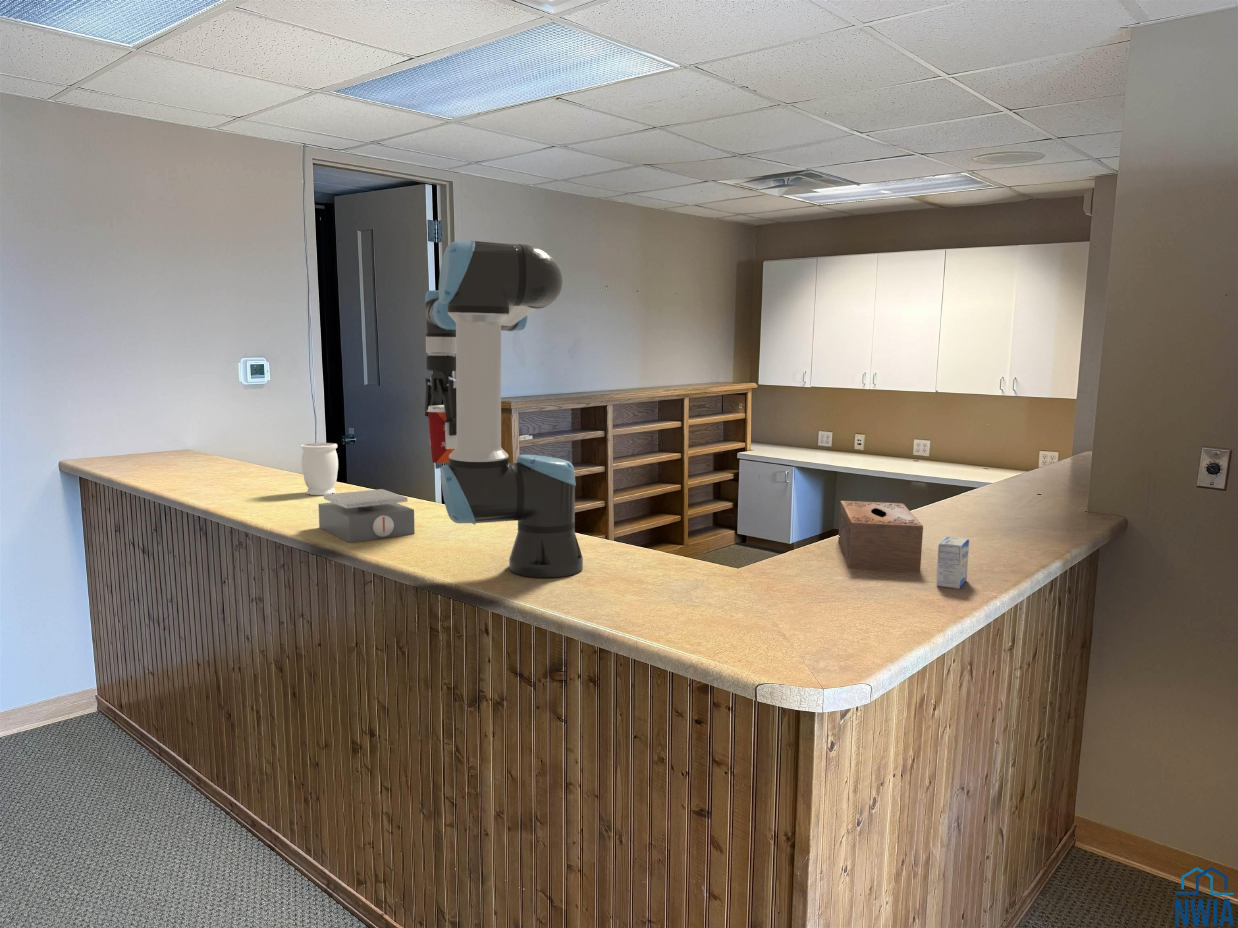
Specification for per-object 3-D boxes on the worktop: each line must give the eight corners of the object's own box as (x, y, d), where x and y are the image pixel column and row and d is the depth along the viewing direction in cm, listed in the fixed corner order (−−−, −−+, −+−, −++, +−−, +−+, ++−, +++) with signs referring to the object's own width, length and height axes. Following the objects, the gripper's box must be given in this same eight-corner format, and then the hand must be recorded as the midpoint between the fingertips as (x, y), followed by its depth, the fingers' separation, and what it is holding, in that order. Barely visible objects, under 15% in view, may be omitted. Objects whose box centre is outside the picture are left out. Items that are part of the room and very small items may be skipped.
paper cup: (451, 464, 205) (451, 406, 203) (422, 463, 206) (421, 406, 205) (464, 460, 213) (463, 405, 211) (435, 459, 214) (434, 404, 212)
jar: (331, 496, 250) (330, 446, 248) (297, 496, 250) (295, 446, 248) (343, 490, 260) (342, 442, 258) (310, 490, 260) (309, 442, 258)
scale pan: (407, 506, 203) (407, 497, 203) (346, 513, 194) (346, 504, 194) (382, 497, 215) (382, 488, 215) (324, 503, 206) (323, 494, 205)
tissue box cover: (920, 573, 175) (923, 526, 174) (848, 568, 177) (851, 522, 176) (900, 544, 200) (903, 503, 199) (838, 541, 202) (840, 500, 201)
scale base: (415, 534, 202) (415, 509, 201) (351, 543, 192) (350, 517, 191) (380, 519, 218) (380, 497, 217) (319, 527, 208) (318, 503, 207)
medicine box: (959, 589, 162) (962, 546, 161) (935, 586, 164) (938, 542, 163) (966, 580, 169) (969, 538, 167) (943, 577, 171) (946, 535, 170)
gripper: (476, 355, 200) (477, 450, 203) (436, 354, 216) (438, 442, 219) (447, 355, 196) (449, 452, 199) (409, 354, 212) (411, 444, 215)
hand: (443, 447), depth 209 cm, fingers closed on paper cup, 8 cm apart
